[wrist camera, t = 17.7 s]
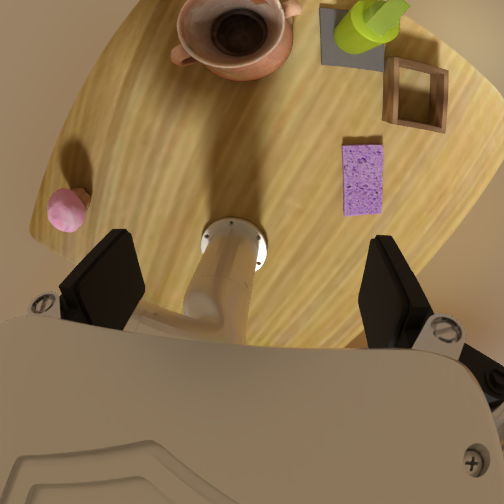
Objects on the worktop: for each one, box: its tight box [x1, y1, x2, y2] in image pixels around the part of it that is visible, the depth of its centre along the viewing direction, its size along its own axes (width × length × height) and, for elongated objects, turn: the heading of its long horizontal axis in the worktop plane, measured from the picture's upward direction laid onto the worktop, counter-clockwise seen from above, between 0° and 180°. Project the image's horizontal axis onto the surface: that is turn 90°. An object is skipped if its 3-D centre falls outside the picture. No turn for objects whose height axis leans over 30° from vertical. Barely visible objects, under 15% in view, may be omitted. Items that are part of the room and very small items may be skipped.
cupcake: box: [47, 188, 91, 232], centre depth 49 cm, size 9×9×10 cm
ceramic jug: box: [170, 0, 302, 81], centre depth 30 cm, size 18×14×14 cm
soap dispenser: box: [334, 0, 410, 54], centre depth 25 cm, size 6×7×20 cm
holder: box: [382, 57, 448, 134], centre depth 35 cm, size 11×10×5 cm
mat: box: [319, 8, 384, 72], centre depth 33 cm, size 10×10×1 cm
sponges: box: [342, 144, 383, 216], centre depth 46 cm, size 7×13×2 cm, turn 8°
